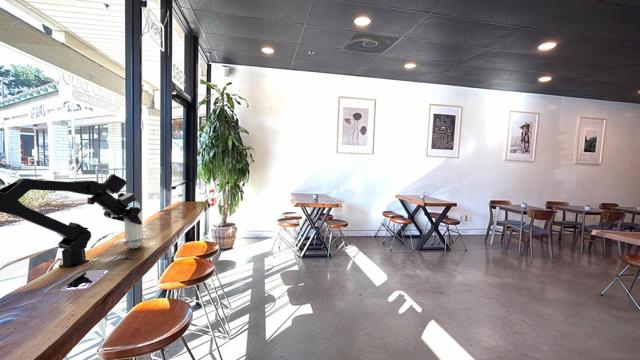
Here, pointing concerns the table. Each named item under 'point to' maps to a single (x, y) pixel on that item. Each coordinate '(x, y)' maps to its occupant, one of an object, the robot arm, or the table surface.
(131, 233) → the white rounded tall piece
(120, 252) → the table surface
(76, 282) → the mobile phone
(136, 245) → the sage bowl
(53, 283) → the table surface
